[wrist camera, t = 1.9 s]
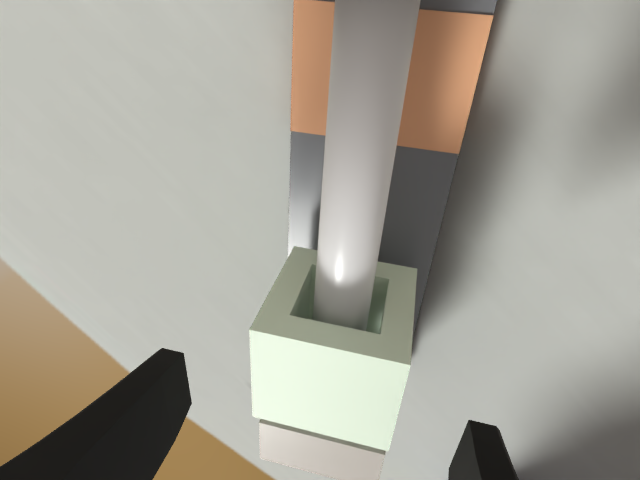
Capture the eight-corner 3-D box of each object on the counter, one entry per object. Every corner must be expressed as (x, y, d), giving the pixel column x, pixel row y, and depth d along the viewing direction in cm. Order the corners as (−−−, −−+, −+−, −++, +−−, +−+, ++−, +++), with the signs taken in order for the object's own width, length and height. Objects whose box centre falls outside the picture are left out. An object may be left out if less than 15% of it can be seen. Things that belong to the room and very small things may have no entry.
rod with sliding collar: (402, 365, 18) (391, 494, 14) (291, 341, 19) (246, 454, 15) (519, -111, 10) (591, -191, 5) (308, -119, 11) (210, -194, 6)
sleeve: (399, 347, 15) (388, 451, 12) (291, 324, 16) (252, 416, 12) (417, 268, 13) (410, 365, 10) (294, 246, 14) (249, 329, 11)
